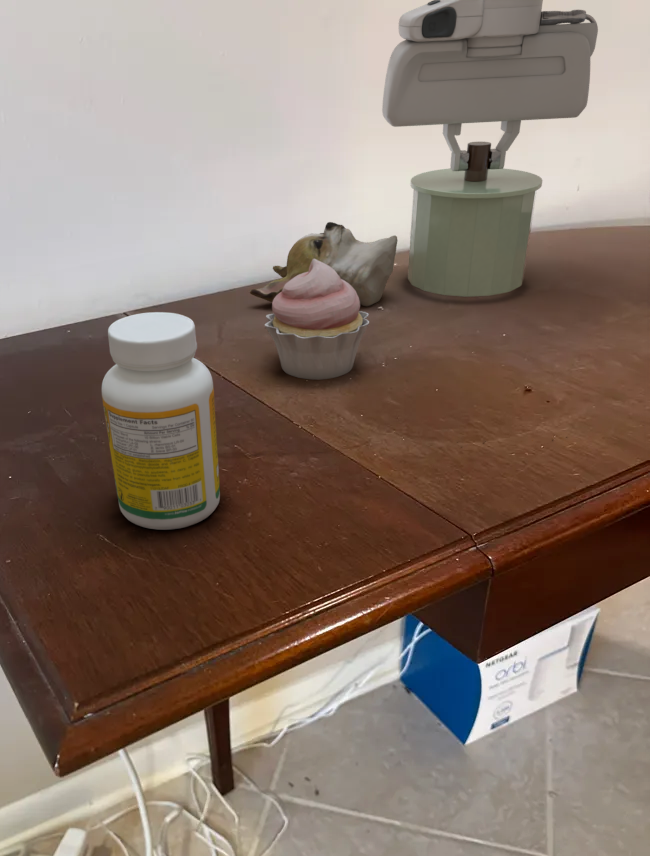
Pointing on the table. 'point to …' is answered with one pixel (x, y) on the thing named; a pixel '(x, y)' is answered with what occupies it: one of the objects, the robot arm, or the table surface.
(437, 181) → the canister lid
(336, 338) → the cupcake
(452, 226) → the canister
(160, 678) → the table surface
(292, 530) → the table surface
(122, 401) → the supplement bottle
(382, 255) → the ceramic sculpture
